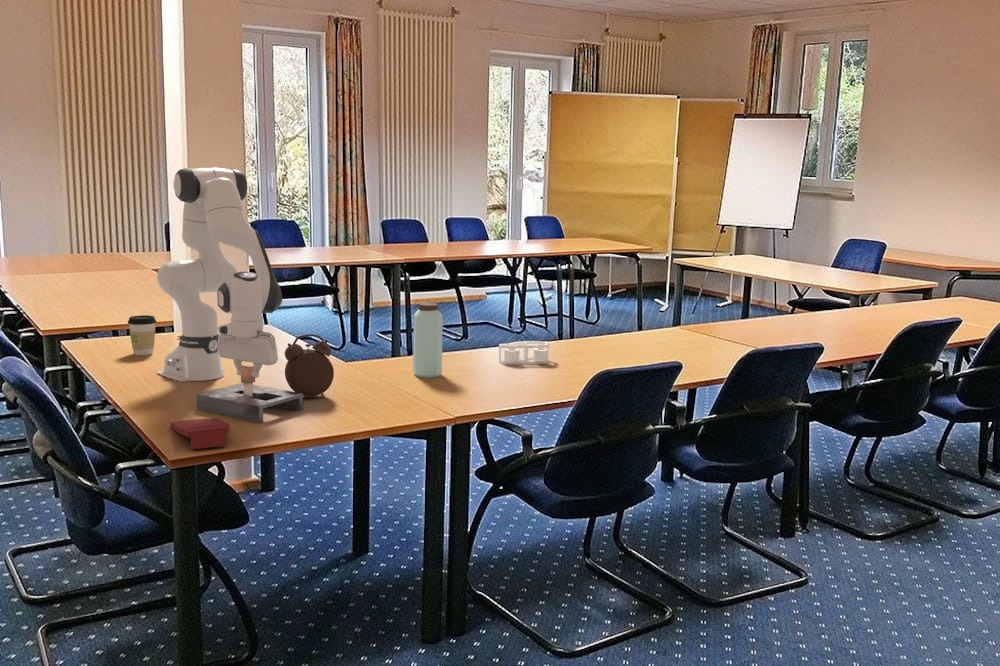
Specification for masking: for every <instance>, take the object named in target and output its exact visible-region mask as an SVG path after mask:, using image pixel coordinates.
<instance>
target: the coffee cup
mask: <svg viewBox="0 0 1000 666" xmlns="http://www.w3.org/2000/svg"><path fill="white" fill-rule="evenodd" d="M156 323H157V319H156V318H155V316H154V315H147V314H145V315H144V314H142V315H132V316H130V317H129V318H128V320H127V324H128V326H129V335H130V341H131V342H130V343H131V347H132V351H133V355H134V354H135V355H134V356H137V355H146V356H149V355H148V354H152V353H153V354H154V347H155V340H156V339H155V337H156ZM153 354H152V355H153Z"/></svg>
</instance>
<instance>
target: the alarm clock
mask: <svg viewBox="0 0 1000 666" xmlns="http://www.w3.org/2000/svg"><path fill="white" fill-rule="evenodd" d="M304 337H315V338H318V339H319V341H317V342H315V343H314V345H313V346H312V345H311V344H310V343H307V344H305V347H307V349H304V348H303V347H302V346H301V345H300V344H297V342H298V340H299V339H302V338H304ZM330 345H331V344H328V339H325V340H324V339H323V338H322V337H321V336H320V335H319V334H313V333H310V334H308V333H307V334H301V335H298V336H297V337H296V338H295V339H294V341H293V342H292V343H287V347H286V349H285V350H284V358H285V359H286V361H287V362H286V364H285V368H284V376H285V377H284V378H285V380H286V383H287V384H288V386H289V388H290V389H291V391H292V392H297V393H303V397H305V398H313V397H317V396H322V397H323V398H326V396H325V394H324V393H325V392H326V391H327V390H328V389H329V388H330V387H331V386H332V383H333V381H334V377H335V370H334V366H333V364H332V362H331V360H330V359H329V358H328V357H330V355H331V353H332V349H331V346H330ZM311 346H312V347H311ZM310 347H311V349H310Z"/></svg>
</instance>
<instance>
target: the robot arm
mask: <svg viewBox="0 0 1000 666" xmlns="http://www.w3.org/2000/svg"><path fill="white" fill-rule="evenodd" d="M173 191H174V193H175V196H176V198H177V199H178V200H179V201H181V202H184V203H183V210H182V212H183V213H182V227H181V228H182V234H181V238H182V242H183V243H184V244H185V245H186V247H187V248H190V249H191V250H194V251H196V252H198V258H196V259H178V260H177V259H176V260H171V261H168V262H164V263H163V264H161V266H160V267H159V268H158V272H157V277H156V278H157V279H156V280H157V283H158V286H159V287H160V288H161V290H162V291H163V292H164V293H166V294H168V295H169V296H170V297H171V298H172V299H173V300H174V302H175V303H176V305H177V307H178V309H179V312H180V317H181V331H182V333H181V335H178V336H177V339H176V340H177V341H178V340H179V342H178V345H177V347H175V349H173V350H172V351H171V352H170V353H168V354H167V355H166V356H165V358H164V361H163V362H164V363H163V365H164V366H163V367H164V368H163V369H159V370H158V371H157V372H156V375H157V374H160V375H163V376H166V377H169V378H172V379H171V380H173V379H175V380H174V381H176V380H178V381H177V382H192V381H193V382H196V381H198V382H200V381H201V382H202V381H211V380H216V379H220V378H223V377H224V376H225V374H224V371H225V370H224V368H223V366H222V358H224V359H229V360H233V365H234V367H235V369H236V375H237V376H241V366H243V364H242V363H243V362H246V363H251V364H252V363H253V364H252V365H253V366H254V367H255V368H254V370H253V371H252V372H251V377H252V378H255V379H258V378H259V377H260V371H261V369H262V367H263V365H264V366H272V365H276V364H277V362H278V360H279V358H278V348H277V343H276V337H275V336H274V335H273V334H272V332H266V331H264V318H263V314H273V313H274V312H275V311H277V310H278V309H279V307H281V305H282V302H283V293H282V290H281V287H280V285H279V282H278V280H277V279H276V276H275V274H274V271H273V268H272V265H271V262H270V259H269V257H268V253H267V250H266V248H265V244H264V243H263V240H262V238H261V235H260V233H259V232H258V230H257V229H255V228H253V227H252V226H251V225H250V223H249V222H248V221H247V218H246V217H245V212H244V205H243V203H242V202H243V200H244V199H245V198H246V197H247V194H248V181H247V177H246V175H245V174H244V172H242V171H241V170H239V169H236V168H235V169H234V168H231V169H229V168H222V167H212V166H211V167H197V168H196V167H195V168H191V167H185V168H181V169H178V170H177V172H176V173H175V175H174V179H173ZM220 243H221V244H224V245H227V246H230V247H234V248H236V249H238V250H241V251H243V252H245V254H247V255H248V256H249V258H250V260H251V262H252V265H253V267H254V271H255V272H251V271H239V272H238V269H237V267H236V265H235V264H234V263H233V261H231V260H230V259H229V258H227V257H226V255H225V254H224V252H223V250H222V249H221V245H220ZM201 293H202V294H203V293H217V307H219V309H220V310H222V312H224V313H226V314H231V317H230V322H229V323H226V324H223V325H219V326H218V313H217V311H216V309H215V308H214V307H213V306H211V305H210V304H207V303H205V302H203V301H202V300H201V297H200V294H201ZM160 375H159V376H160ZM163 376H162V377H163ZM166 377H165V378H166ZM169 378H168V379H169Z"/></svg>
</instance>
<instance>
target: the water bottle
mask: <svg viewBox="0 0 1000 666" xmlns="http://www.w3.org/2000/svg"><path fill="white" fill-rule="evenodd" d="M417 307H418V308H417V310H416V311H415V313H413V358H412V360H413V361H412V372H413V374H414V375H415V376H416V377H420V378H426V379H428V378H430V379H431V378H437V377H439V376H441V375H442V373H443V324H444V323H443V319H444V318H443V317H444V316H443V314H442V313H441V312H440V311H439V310H438V309H439V304H438V303H435V302H434V303H433V302H422V303H421V302H419V303H418V306H417Z"/></svg>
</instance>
